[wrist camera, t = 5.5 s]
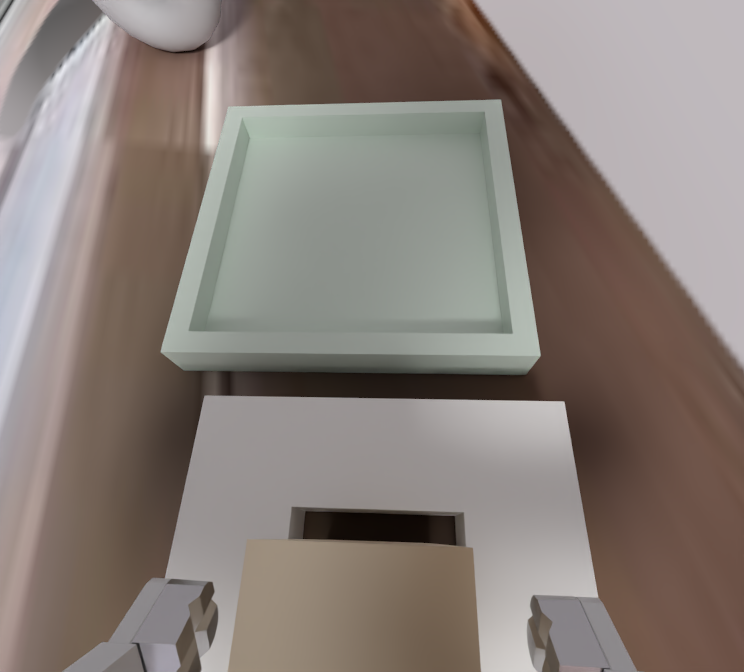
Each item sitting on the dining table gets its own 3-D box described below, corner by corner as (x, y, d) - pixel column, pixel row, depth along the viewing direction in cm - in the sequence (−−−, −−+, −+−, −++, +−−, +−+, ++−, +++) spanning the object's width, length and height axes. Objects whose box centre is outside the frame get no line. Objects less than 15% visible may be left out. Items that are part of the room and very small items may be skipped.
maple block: (318, 665, 15) (199, 862, 6) (327, 539, 16) (247, 539, 7) (433, 672, 14) (495, 888, 6) (430, 543, 16) (472, 548, 7)
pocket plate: (143, 859, 13) (89, 927, 11) (227, 412, 19) (204, 395, 17) (614, 900, 12) (664, 983, 10) (543, 418, 18) (564, 401, 16)
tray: (183, 370, 20) (160, 352, 18) (240, 138, 27) (228, 106, 25) (525, 374, 19) (540, 355, 17) (492, 132, 26) (500, 99, 24)
